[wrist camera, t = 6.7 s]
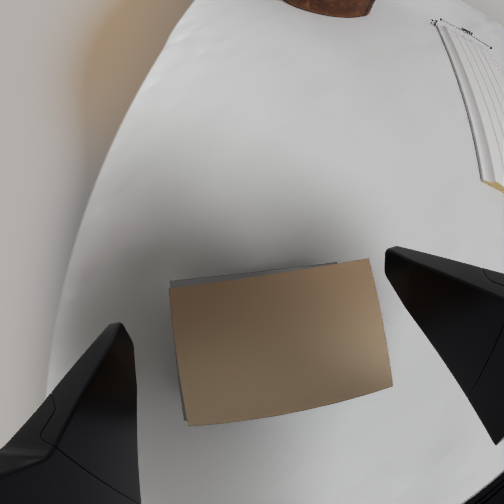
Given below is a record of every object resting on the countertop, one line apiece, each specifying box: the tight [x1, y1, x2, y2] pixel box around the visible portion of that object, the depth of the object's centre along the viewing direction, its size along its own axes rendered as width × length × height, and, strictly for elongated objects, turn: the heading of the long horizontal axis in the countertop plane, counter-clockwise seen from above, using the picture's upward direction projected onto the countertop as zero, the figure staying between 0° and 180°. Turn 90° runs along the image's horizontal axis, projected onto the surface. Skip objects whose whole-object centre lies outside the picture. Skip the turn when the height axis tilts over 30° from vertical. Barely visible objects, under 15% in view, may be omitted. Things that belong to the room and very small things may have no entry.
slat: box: [169, 258, 393, 426], centre depth 11 cm, size 3×4×11 cm, turn 99°
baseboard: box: [431, 19, 504, 193], centre depth 25 cm, size 31×3×12 cm
